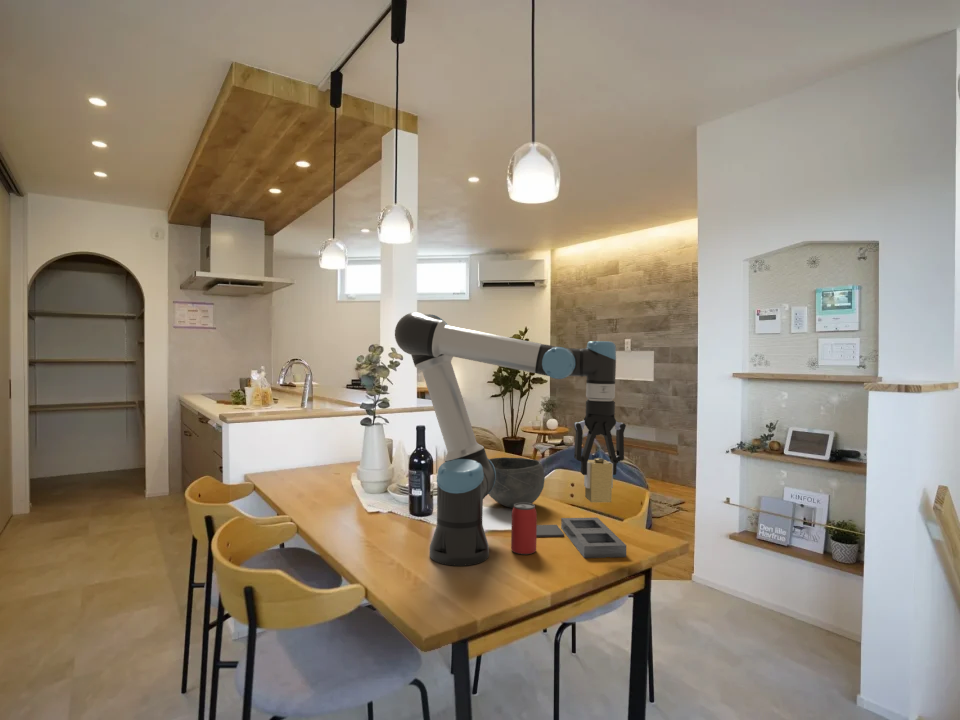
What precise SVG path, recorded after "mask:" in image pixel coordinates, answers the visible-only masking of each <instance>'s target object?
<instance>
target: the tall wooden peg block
mask: <svg viewBox="0 0 960 720" xmlns="http://www.w3.org/2000/svg"><path fill="white" fill-rule="evenodd" d="M588 462H589V463H590V488H586V487H585V486H584V491H585V492H584V494H585V495H584V497H585V498H586V500H588V501H589V502H590V503H612V489H613V488H612V464H611V463H610V461H609V460H606V459H604V458H601V457H595V458H594V459H588Z"/></svg>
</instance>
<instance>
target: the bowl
mask: <svg viewBox="0 0 960 720" xmlns="http://www.w3.org/2000/svg"><path fill="white" fill-rule="evenodd" d="M488 459H489V460H490V461H491V462H492V463H493V465H494V467H495V471H496V480H495V484H494V486H493V488H492V490H491V492H490V493H489V494H488V495H489V496H490V498H491V499H493V501H495V502H496V503H498V504H500V505H502V506H503V507H506V508H511V509H513V508H514V504H516V503H531V504H533V503H534V502H536V500H537V499H538V498H539V497H540V496H541V494H542V492H543V490H544V486H545V478H546V477H545V469H544V466H543V464H542V462H540V460H537V459H530V458H525V457H503V456H502V457H493V458H488Z"/></svg>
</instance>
